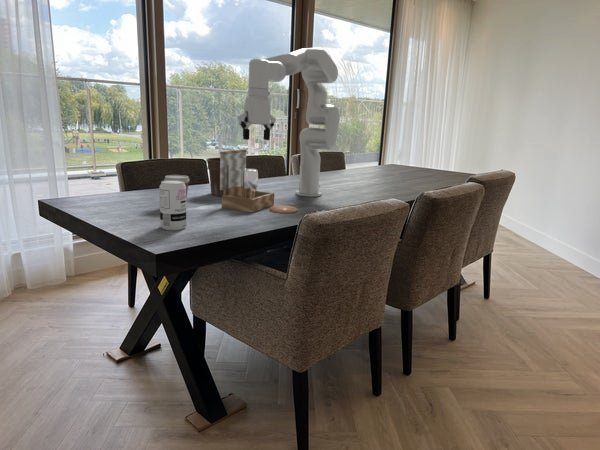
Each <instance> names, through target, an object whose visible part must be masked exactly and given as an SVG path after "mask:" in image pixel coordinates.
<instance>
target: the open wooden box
mask: <svg viewBox="0 0 600 450" xmlns="http://www.w3.org/2000/svg"><path fill="white" fill-rule="evenodd" d="M247 152H248V151H247V149H244V148H243V149H242V148H241V149H233V150H222V151H219V158H220V190H224V189H225V190H224V192H223V195H222V196H221V208H223V209H229V210H234V211H235V210H236V211H242V212H247V213H248V212H249V213H254V212H257V211H260V210H263V209H266V208H268V207H269V208H270V207H272V206H275V192H268V191H262V190H257V191H256V197H255V198H253V199H249V198H242V189H241V170H242V169H247ZM237 186H238V187H237ZM233 187H234V188H233Z"/></svg>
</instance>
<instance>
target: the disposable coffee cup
mask: <svg viewBox="0 0 600 450" xmlns="http://www.w3.org/2000/svg"><path fill="white" fill-rule="evenodd" d="M166 180H178V181H183V182H184V184H185V185H186V200H187V197H188V189H189V183H190V178H189V176H188V175H181V174H168V175H165V177H164V179H163V181H166Z"/></svg>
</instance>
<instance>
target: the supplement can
mask: <svg viewBox="0 0 600 450" xmlns="http://www.w3.org/2000/svg"><path fill="white" fill-rule="evenodd" d="M160 182H161V183H160V185H159V217H160V218H159V220H160V221H159V222H160V227H161V229H163V230H166V231H181V230H184V229H185V227H187V225H188V224H187V199H186V185H185V184H184V182H183V181H178V180H166V181H164V180H162V181H160Z"/></svg>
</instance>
